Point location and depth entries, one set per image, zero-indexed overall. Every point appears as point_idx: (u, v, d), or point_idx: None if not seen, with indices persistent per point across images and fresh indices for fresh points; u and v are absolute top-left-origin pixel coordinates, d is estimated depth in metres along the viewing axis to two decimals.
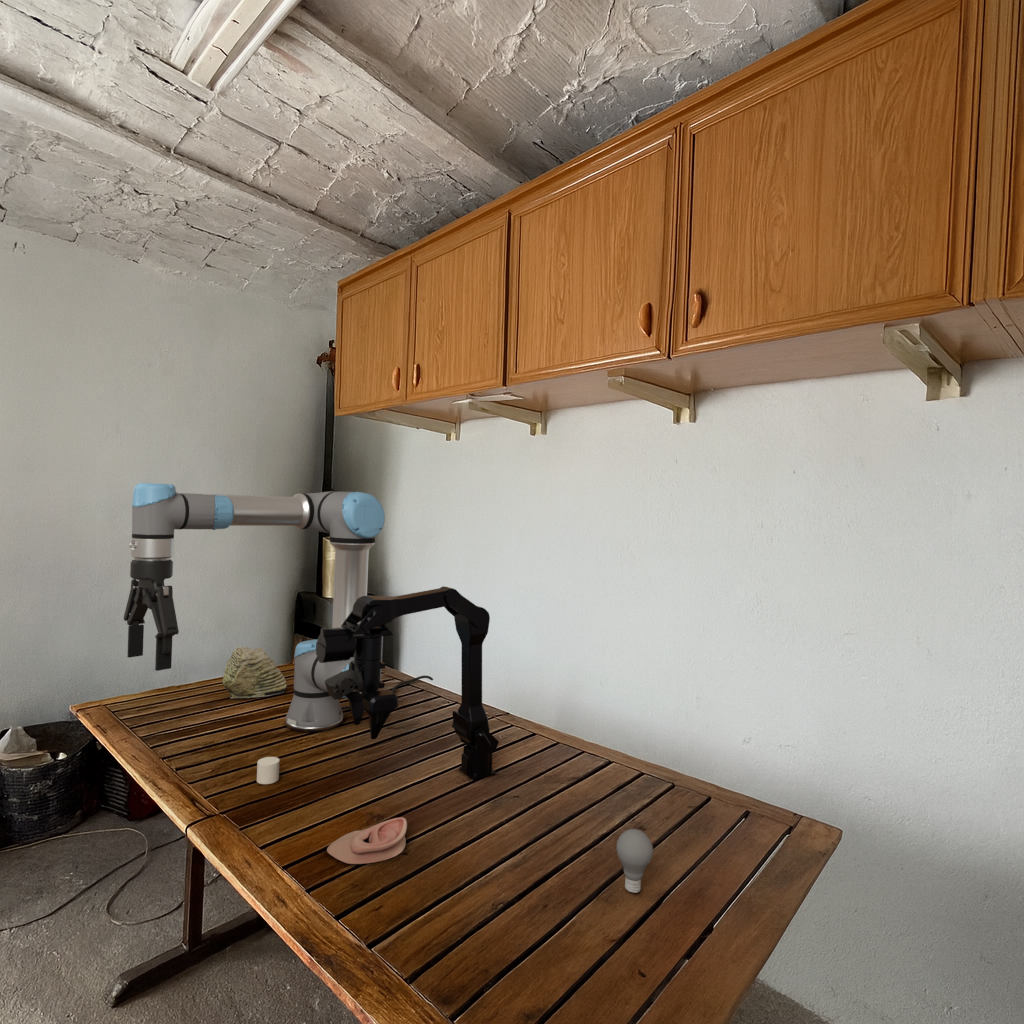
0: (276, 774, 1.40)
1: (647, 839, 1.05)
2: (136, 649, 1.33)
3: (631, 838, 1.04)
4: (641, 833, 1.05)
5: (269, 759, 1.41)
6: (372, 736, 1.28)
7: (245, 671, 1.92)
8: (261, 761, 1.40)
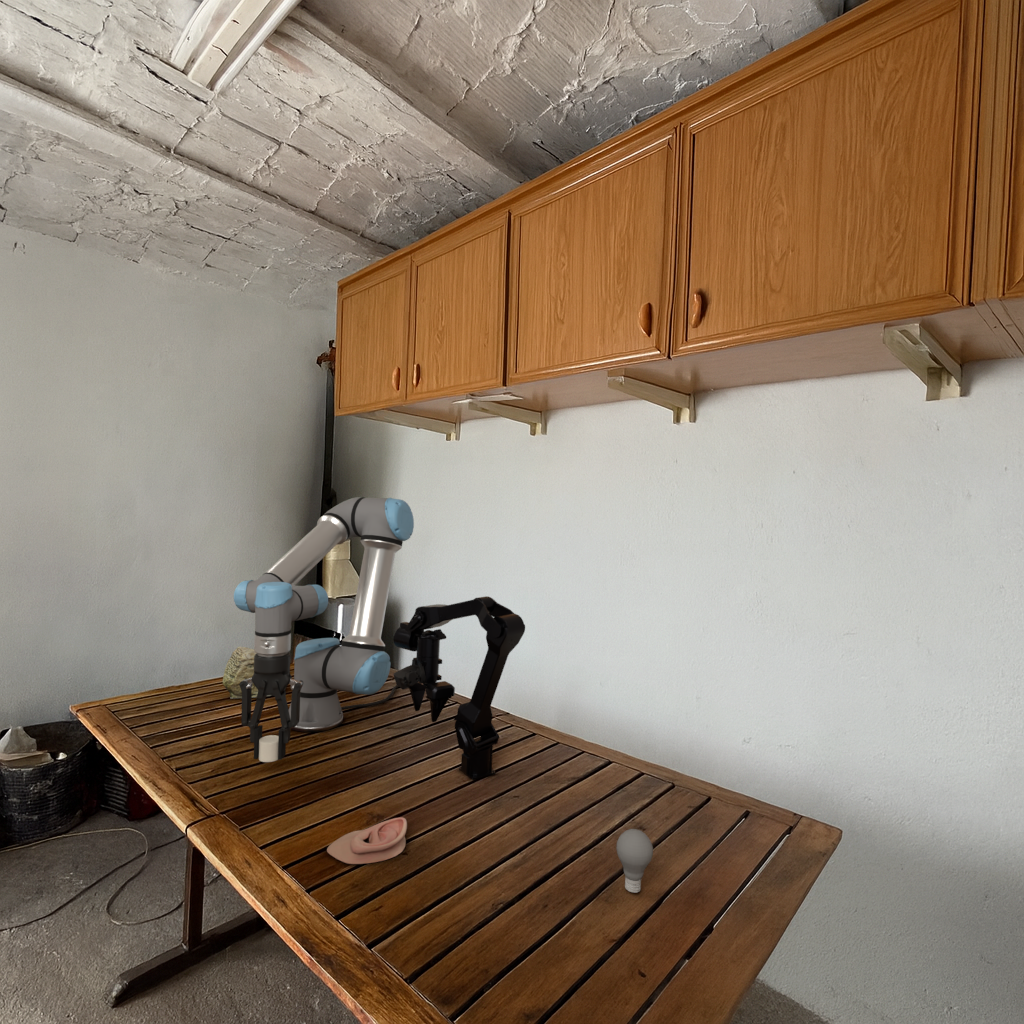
0: None
1: (647, 839, 1.05)
2: None
3: (631, 838, 1.04)
4: (641, 833, 1.05)
5: (271, 737, 1.41)
6: (433, 719, 1.56)
7: (245, 671, 1.92)
8: (263, 739, 1.40)
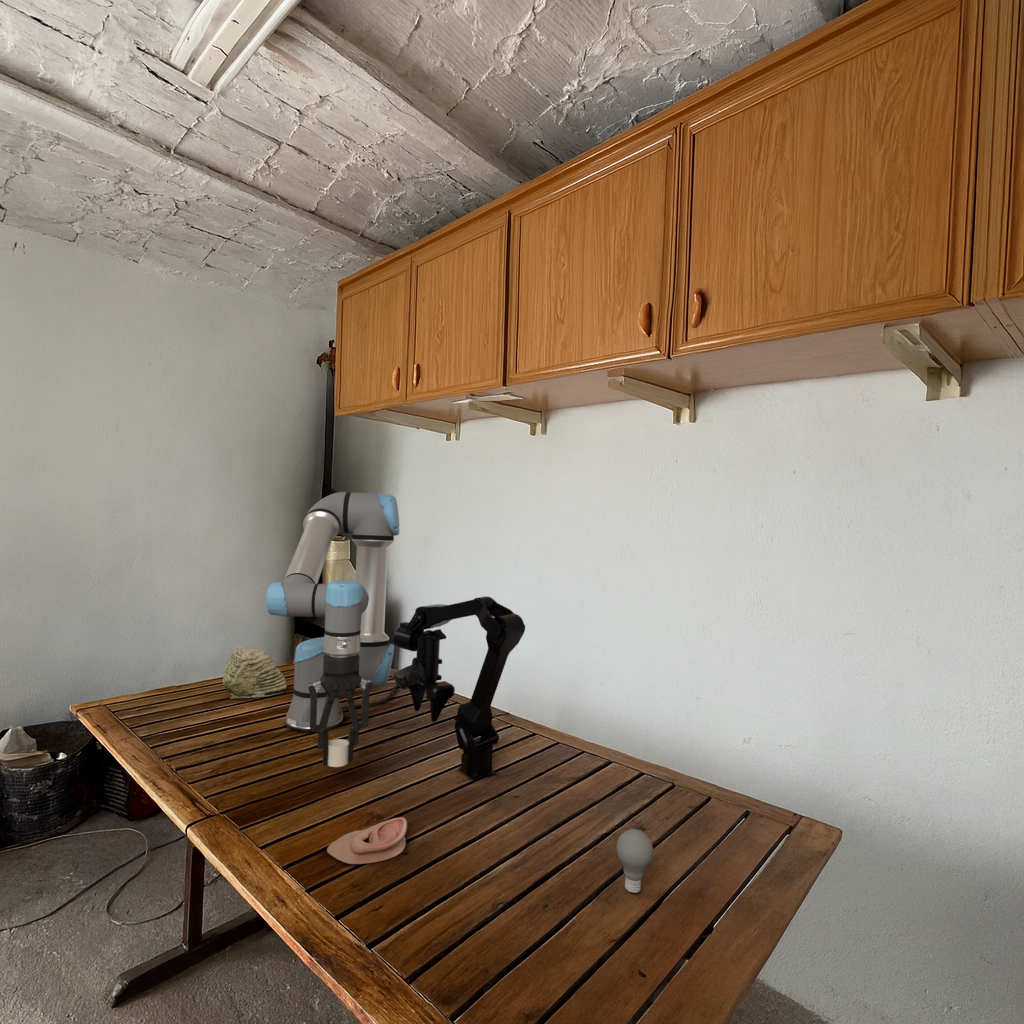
0: (348, 755, 1.36)
1: (647, 839, 1.05)
2: None
3: (631, 838, 1.04)
4: (641, 833, 1.05)
5: (337, 741, 1.37)
6: (433, 719, 1.56)
7: (245, 671, 1.92)
8: (331, 744, 1.35)
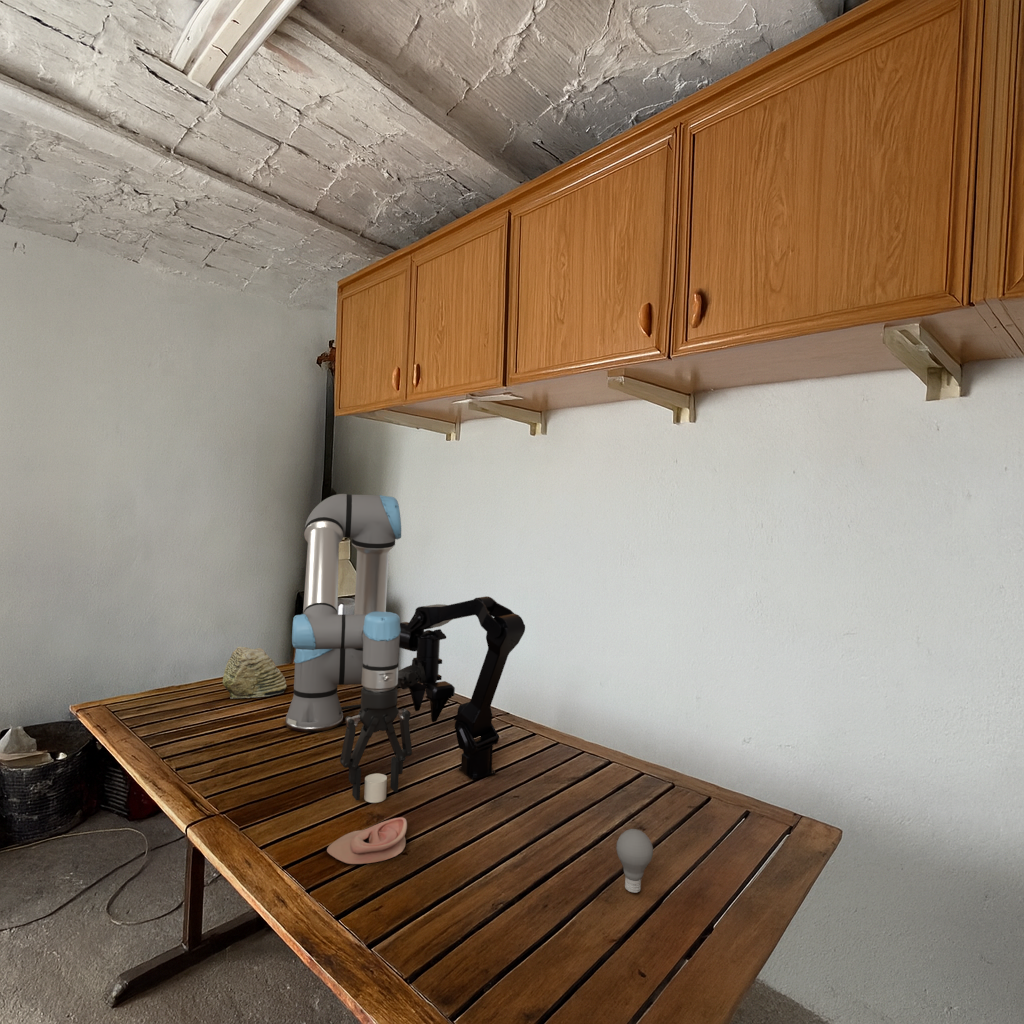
0: (386, 789, 1.35)
1: (647, 839, 1.05)
2: None
3: (631, 838, 1.04)
4: (641, 833, 1.05)
5: (374, 776, 1.35)
6: (433, 719, 1.56)
7: (245, 671, 1.92)
8: (369, 780, 1.33)
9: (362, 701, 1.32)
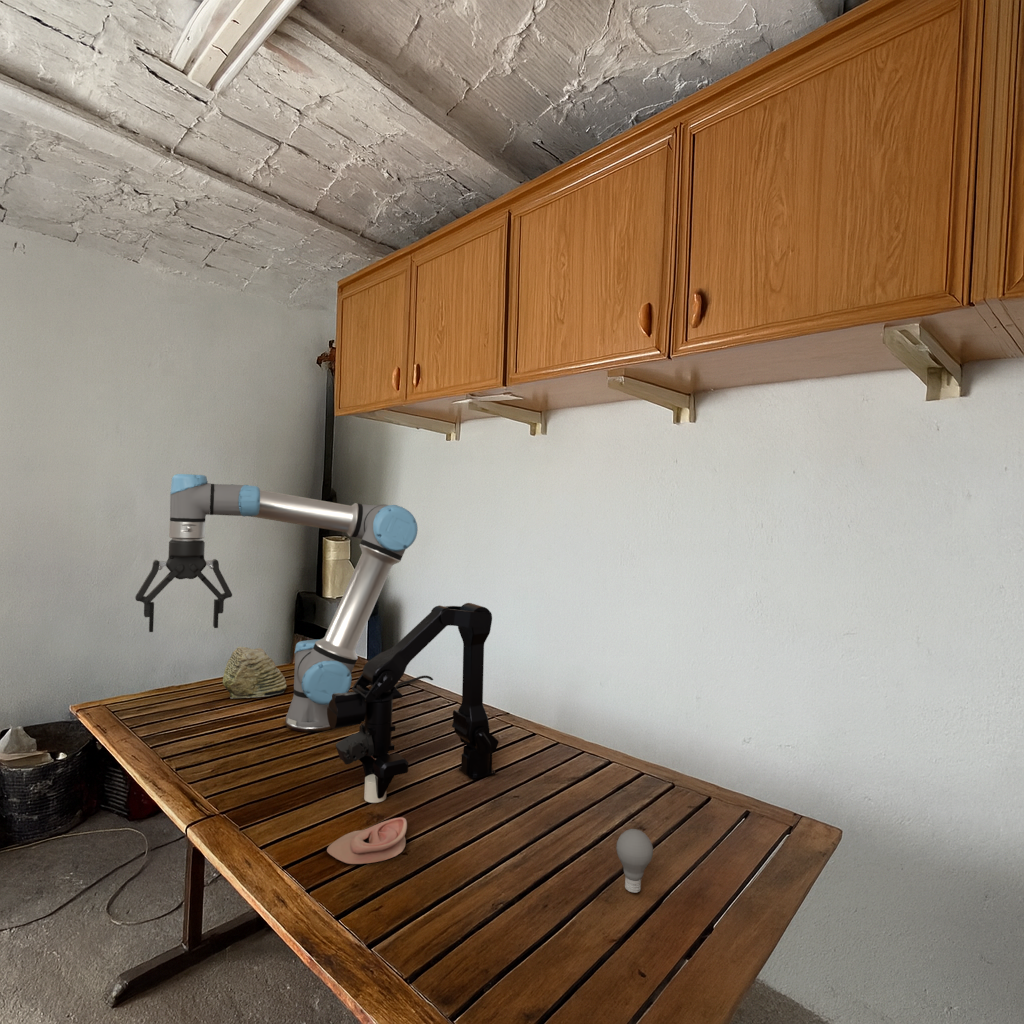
0: None
1: (647, 839, 1.05)
2: None
3: (631, 838, 1.04)
4: (641, 833, 1.05)
5: (374, 776, 1.35)
6: (378, 795, 1.32)
7: (245, 671, 1.92)
8: (369, 780, 1.33)
9: None
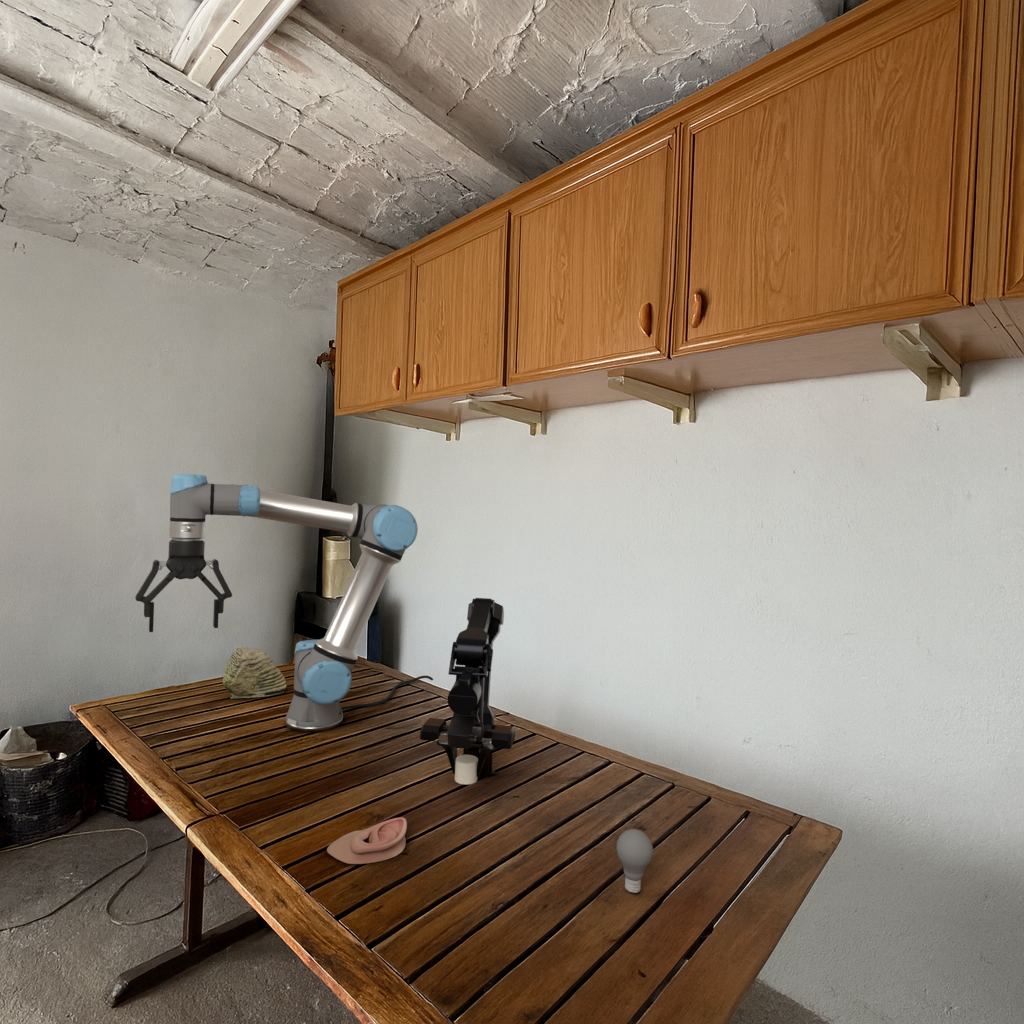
0: None
1: (647, 839, 1.05)
2: None
3: (631, 838, 1.04)
4: (641, 833, 1.05)
5: (463, 758, 1.29)
6: (479, 773, 1.28)
7: (245, 671, 1.92)
8: (466, 762, 1.28)
9: None
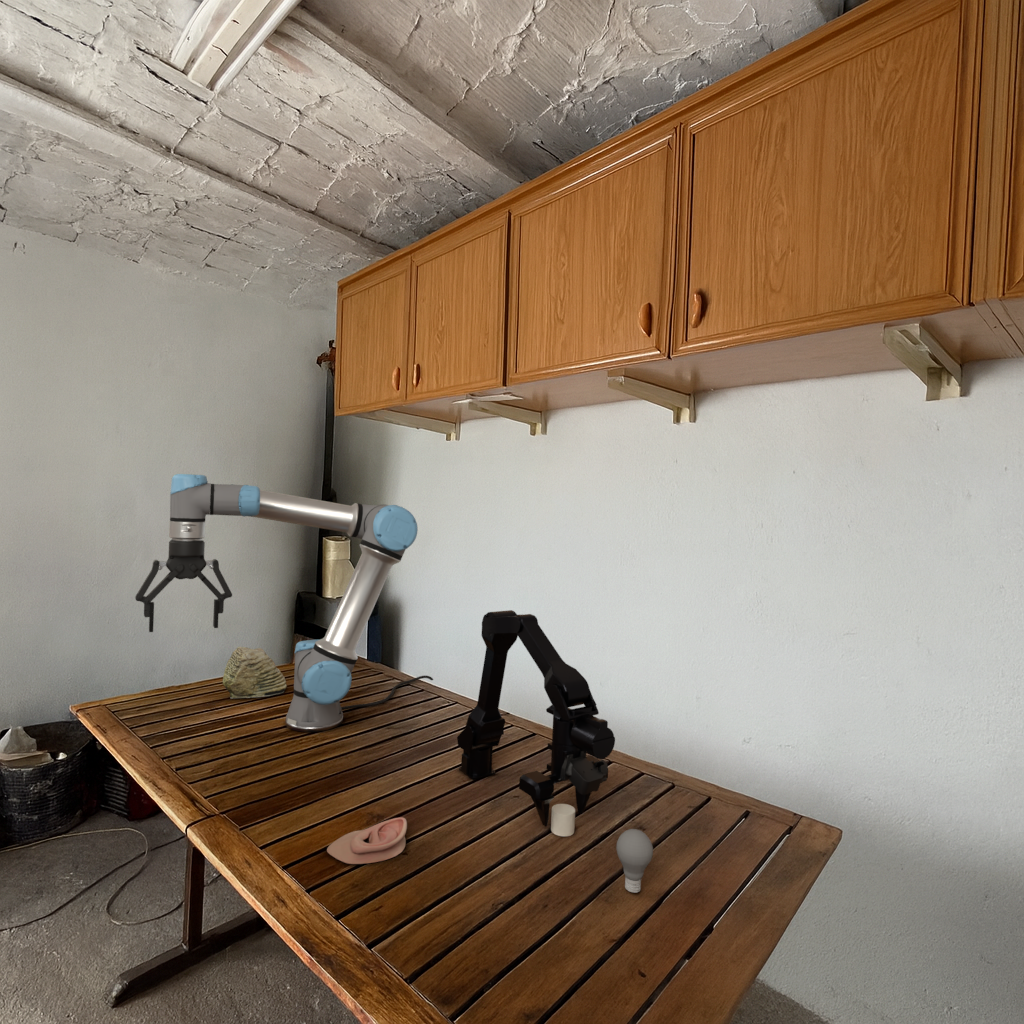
0: None
1: (647, 839, 1.05)
2: None
3: (631, 838, 1.04)
4: (641, 833, 1.05)
5: (560, 810, 1.24)
6: None
7: (245, 671, 1.92)
8: (569, 812, 1.23)
9: None
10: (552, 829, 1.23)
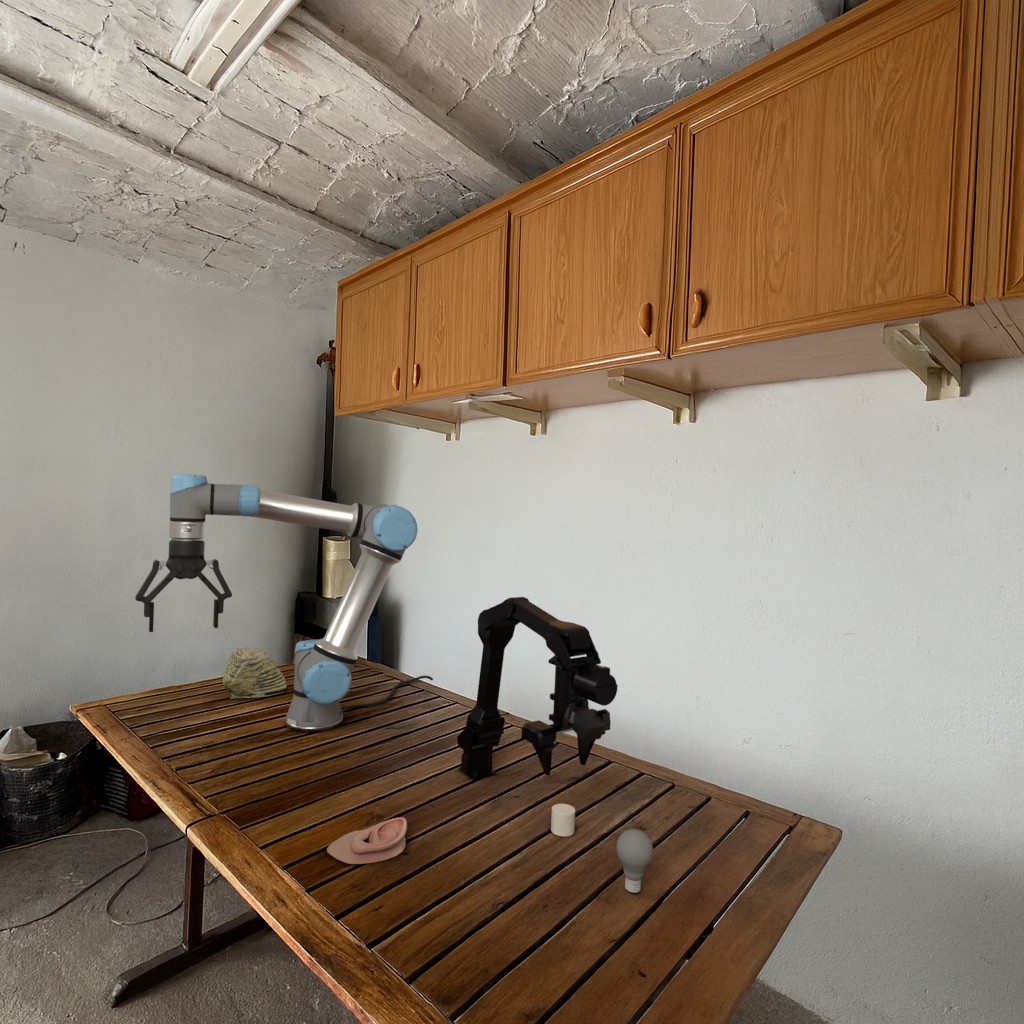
0: None
1: (647, 839, 1.05)
2: None
3: (631, 838, 1.04)
4: (641, 833, 1.05)
5: (560, 810, 1.24)
6: None
7: (245, 671, 1.92)
8: (569, 812, 1.23)
9: None
10: (552, 829, 1.23)
